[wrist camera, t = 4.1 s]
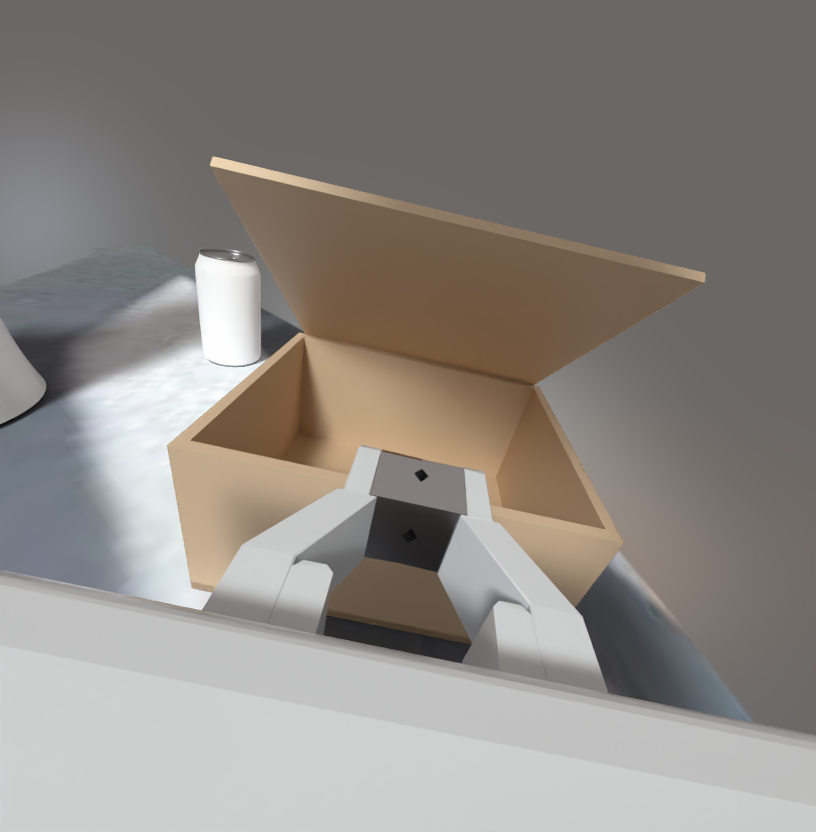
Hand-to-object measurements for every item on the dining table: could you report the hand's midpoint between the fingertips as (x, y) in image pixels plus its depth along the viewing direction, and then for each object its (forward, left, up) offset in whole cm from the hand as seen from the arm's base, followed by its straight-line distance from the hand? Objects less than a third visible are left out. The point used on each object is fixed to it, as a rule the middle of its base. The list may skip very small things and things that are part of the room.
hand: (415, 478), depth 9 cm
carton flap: (+7, +13, 0) cm, 15 cm away
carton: (+6, +11, -15) cm, 20 cm away
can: (-4, +40, -15) cm, 43 cm away
